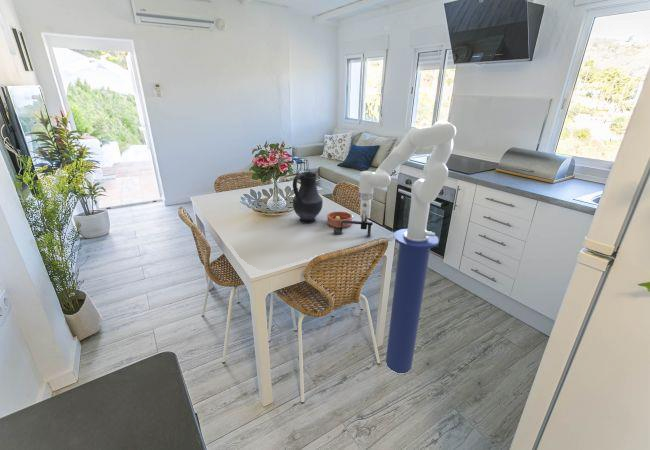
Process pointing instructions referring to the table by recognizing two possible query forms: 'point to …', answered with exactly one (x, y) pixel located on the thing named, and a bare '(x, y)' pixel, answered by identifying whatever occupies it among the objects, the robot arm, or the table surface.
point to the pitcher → (307, 197)
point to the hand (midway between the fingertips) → (363, 228)
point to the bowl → (337, 223)
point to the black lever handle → (339, 231)
